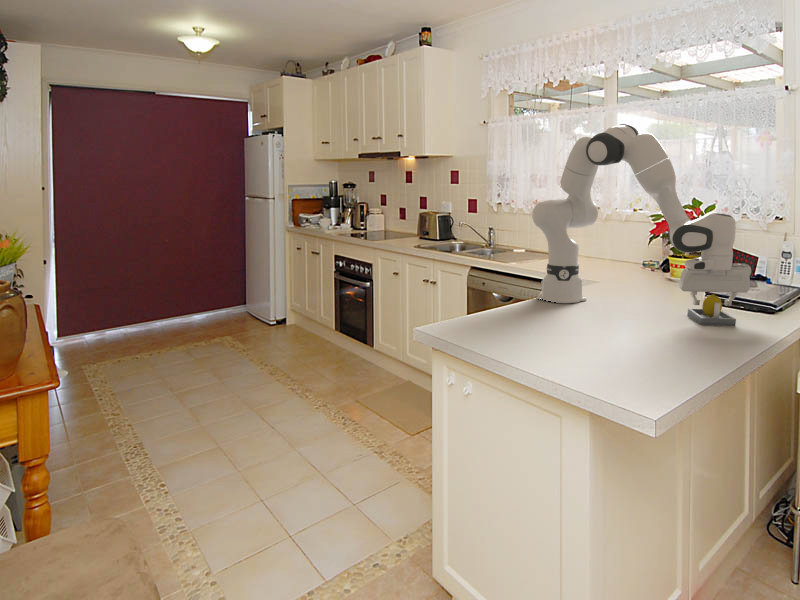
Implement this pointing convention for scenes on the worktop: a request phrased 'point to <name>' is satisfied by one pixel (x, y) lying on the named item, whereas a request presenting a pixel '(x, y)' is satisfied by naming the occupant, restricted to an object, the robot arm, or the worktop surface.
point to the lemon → (711, 305)
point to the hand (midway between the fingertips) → (711, 305)
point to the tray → (716, 320)
